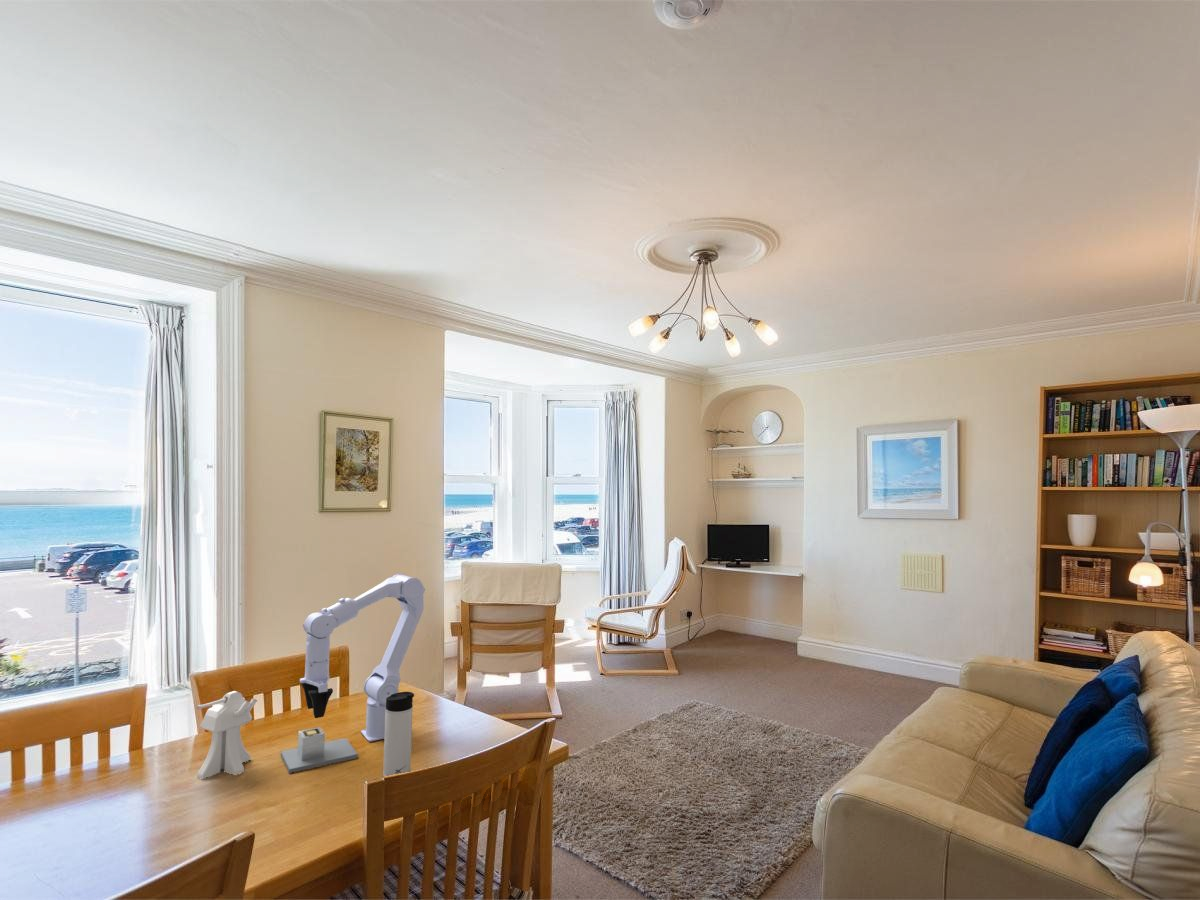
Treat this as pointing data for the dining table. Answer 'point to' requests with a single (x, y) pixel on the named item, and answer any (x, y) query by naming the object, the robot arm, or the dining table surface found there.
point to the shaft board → (332, 754)
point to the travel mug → (398, 733)
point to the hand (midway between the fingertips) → (315, 712)
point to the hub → (311, 744)
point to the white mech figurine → (226, 734)
